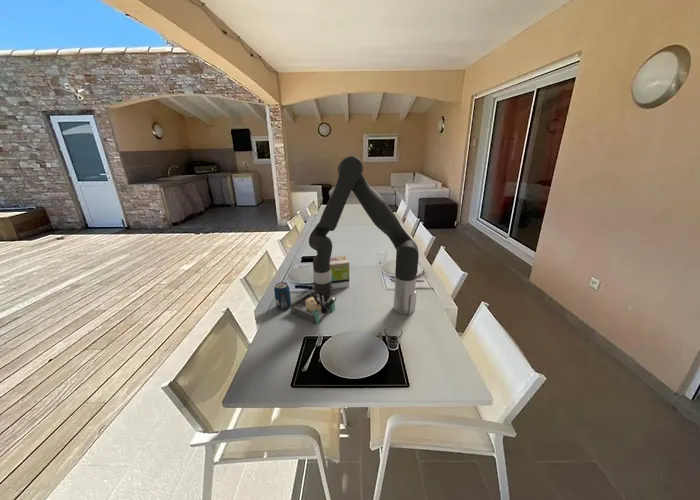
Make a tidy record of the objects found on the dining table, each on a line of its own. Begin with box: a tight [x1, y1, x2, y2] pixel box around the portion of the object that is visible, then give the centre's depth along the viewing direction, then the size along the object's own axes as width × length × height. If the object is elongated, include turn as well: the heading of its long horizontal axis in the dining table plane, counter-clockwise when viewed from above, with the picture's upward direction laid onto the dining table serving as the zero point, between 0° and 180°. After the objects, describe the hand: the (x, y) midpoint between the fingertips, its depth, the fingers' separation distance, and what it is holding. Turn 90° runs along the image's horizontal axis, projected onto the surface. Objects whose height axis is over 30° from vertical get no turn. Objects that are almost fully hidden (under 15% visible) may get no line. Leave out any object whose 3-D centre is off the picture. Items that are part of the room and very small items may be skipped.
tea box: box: [330, 255, 350, 290], centre depth 153 cm, size 15×10×15 cm, turn 105°
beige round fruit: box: [305, 297, 323, 316], centre depth 131 cm, size 7×7×6 cm
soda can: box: [273, 281, 292, 311], centre depth 134 cm, size 7×7×12 cm
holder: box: [289, 291, 336, 326], centre depth 132 cm, size 16×13×6 cm
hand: (324, 312), depth 128 cm, fingers closed
